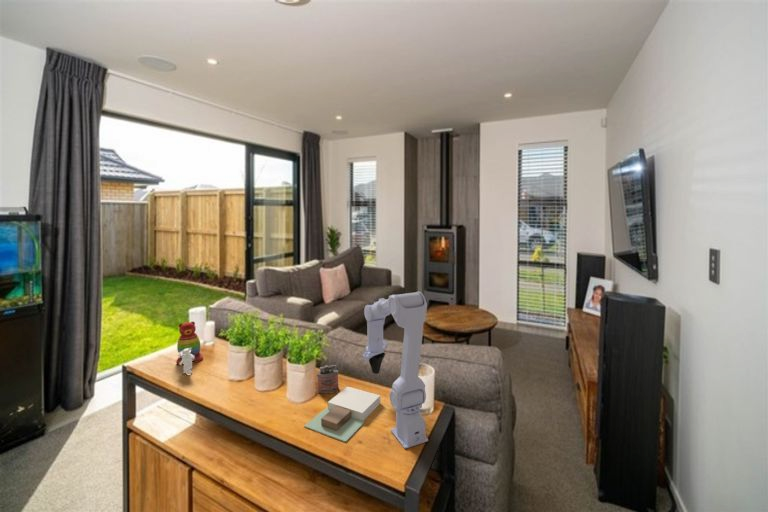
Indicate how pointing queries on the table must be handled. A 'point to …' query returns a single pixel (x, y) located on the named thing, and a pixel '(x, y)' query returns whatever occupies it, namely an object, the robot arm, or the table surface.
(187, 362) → the flower shoulder figurine
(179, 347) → the stacking bear
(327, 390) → the lighter
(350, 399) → the white flat block
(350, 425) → the mat
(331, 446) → the table surface
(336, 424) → the walnut tile
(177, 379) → the table surface
